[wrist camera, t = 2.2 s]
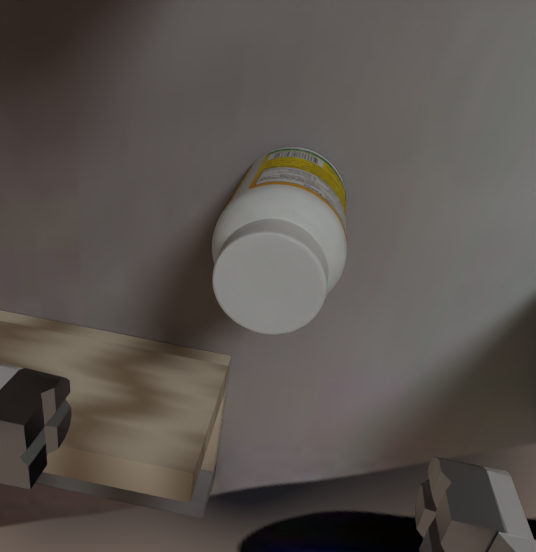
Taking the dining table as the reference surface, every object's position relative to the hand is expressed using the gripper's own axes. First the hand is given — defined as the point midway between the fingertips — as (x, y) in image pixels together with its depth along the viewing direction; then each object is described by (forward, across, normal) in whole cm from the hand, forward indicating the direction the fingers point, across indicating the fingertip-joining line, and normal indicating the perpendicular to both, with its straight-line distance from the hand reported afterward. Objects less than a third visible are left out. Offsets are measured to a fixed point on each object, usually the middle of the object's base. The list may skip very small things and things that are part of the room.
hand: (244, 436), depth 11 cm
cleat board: (+16, +15, +16) cm, 27 cm away
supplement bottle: (+17, +1, 0) cm, 17 cm away
